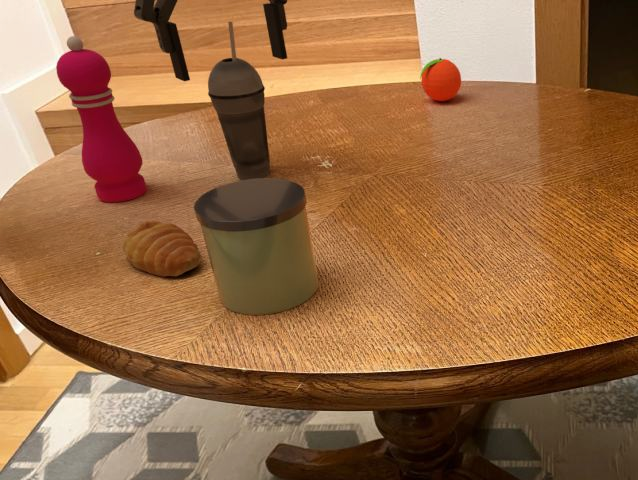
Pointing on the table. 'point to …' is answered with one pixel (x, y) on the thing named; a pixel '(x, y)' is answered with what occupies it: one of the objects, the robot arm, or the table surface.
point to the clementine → (441, 79)
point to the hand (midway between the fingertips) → (233, 68)
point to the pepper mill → (100, 125)
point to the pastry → (161, 249)
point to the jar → (259, 244)
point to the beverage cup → (241, 113)
